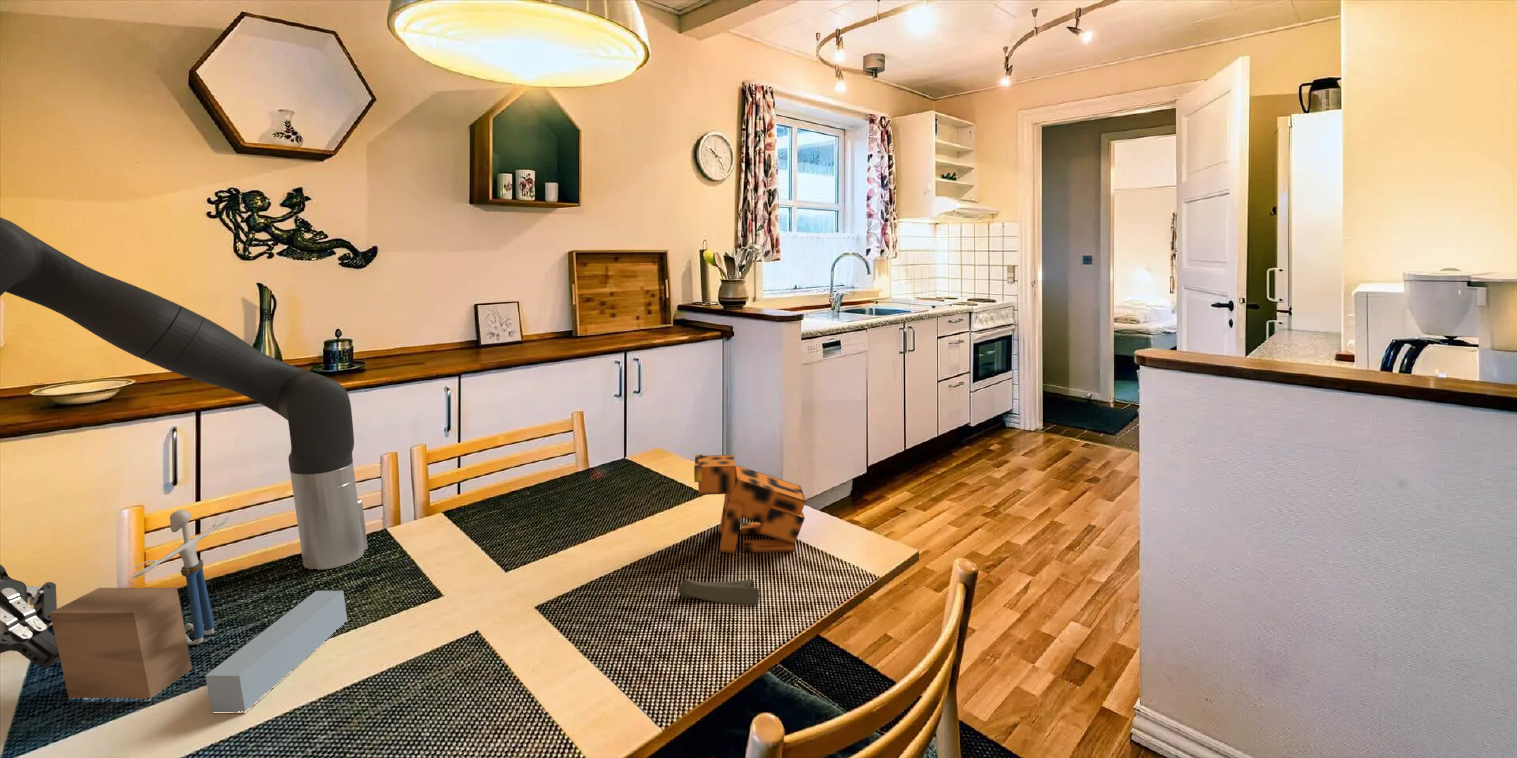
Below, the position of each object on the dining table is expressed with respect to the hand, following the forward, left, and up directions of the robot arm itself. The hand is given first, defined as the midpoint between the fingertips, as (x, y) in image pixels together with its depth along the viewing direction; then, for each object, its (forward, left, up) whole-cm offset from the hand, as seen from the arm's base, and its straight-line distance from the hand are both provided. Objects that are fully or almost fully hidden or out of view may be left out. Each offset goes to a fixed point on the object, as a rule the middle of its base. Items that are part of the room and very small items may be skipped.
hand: (57, 659), depth 84 cm
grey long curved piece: (-35, +76, -4) cm, 84 cm away
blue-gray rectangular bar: (-9, +24, -4) cm, 26 cm away
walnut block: (-2, +9, -4) cm, 10 cm away
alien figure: (-11, +6, -4) cm, 13 cm away
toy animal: (-57, +77, -4) cm, 96 cm away
